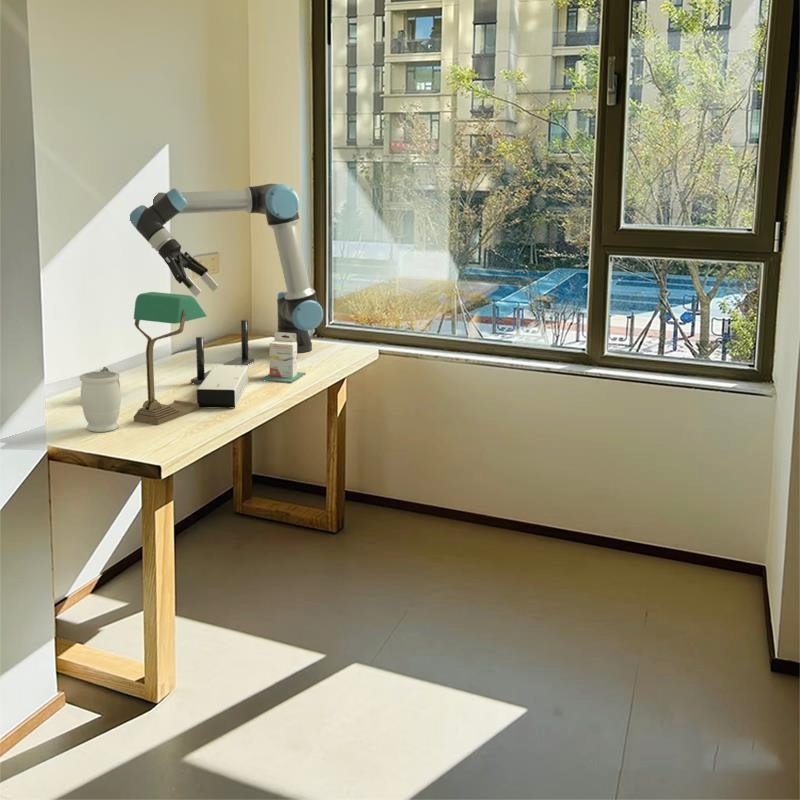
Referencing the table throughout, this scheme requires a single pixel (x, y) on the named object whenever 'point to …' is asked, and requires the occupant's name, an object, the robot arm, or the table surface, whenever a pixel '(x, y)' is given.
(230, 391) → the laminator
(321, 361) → the table surface
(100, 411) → the jar
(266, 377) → the green mat
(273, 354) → the ink cartridge box
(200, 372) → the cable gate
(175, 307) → the banker's lamp
